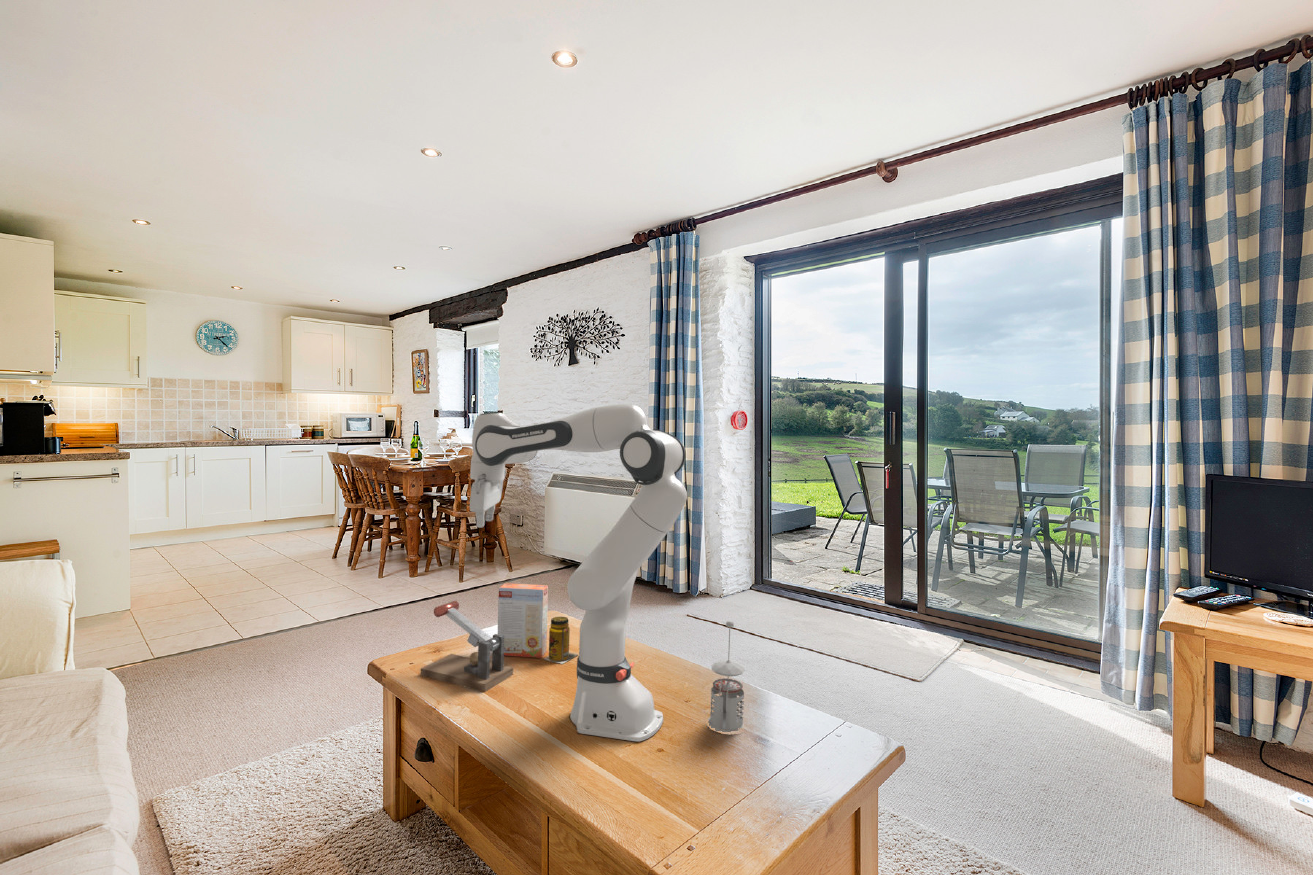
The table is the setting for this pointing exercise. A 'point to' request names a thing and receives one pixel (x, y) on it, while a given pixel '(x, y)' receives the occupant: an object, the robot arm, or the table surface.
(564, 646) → the condiment
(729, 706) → the french press
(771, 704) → the table surface
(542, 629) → the cracker box
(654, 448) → the robot arm
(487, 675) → the tabletop arbor press
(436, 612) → the lever
